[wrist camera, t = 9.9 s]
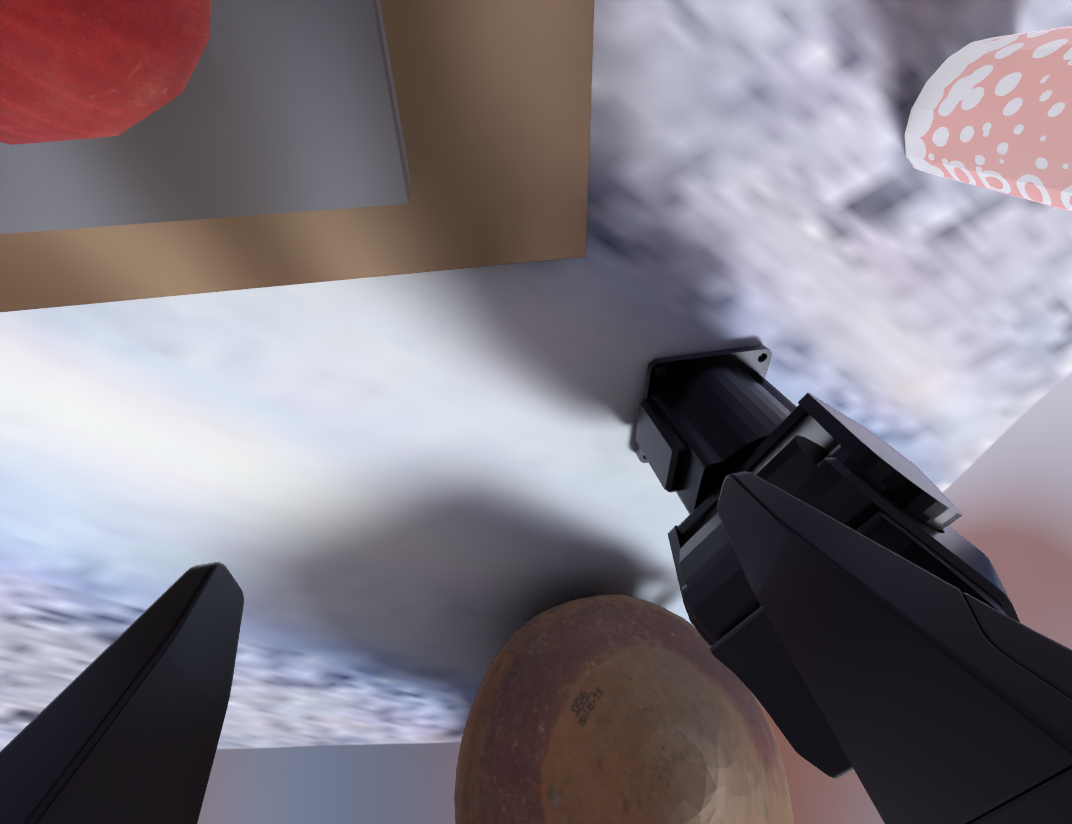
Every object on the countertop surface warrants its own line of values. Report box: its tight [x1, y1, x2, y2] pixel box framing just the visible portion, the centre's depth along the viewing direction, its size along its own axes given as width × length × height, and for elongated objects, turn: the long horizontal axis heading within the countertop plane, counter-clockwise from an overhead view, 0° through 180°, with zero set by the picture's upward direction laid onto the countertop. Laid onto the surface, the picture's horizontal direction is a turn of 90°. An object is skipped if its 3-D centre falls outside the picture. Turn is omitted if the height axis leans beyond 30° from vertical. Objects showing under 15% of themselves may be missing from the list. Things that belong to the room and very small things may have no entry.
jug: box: [454, 594, 794, 824], centre depth 32 cm, size 20×20×30 cm
